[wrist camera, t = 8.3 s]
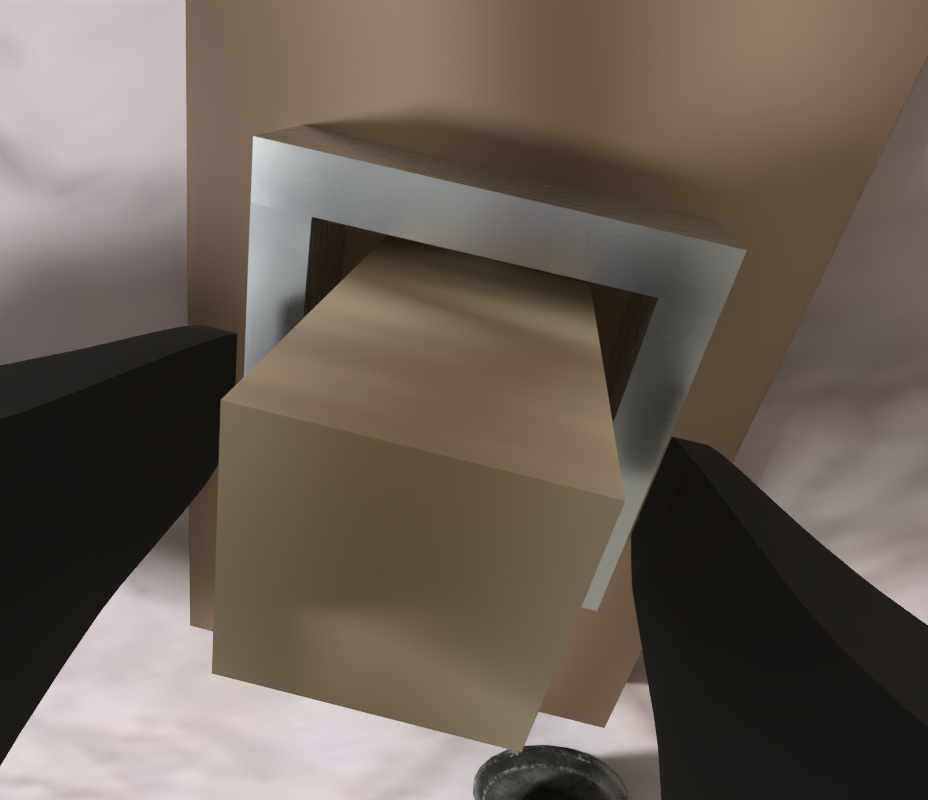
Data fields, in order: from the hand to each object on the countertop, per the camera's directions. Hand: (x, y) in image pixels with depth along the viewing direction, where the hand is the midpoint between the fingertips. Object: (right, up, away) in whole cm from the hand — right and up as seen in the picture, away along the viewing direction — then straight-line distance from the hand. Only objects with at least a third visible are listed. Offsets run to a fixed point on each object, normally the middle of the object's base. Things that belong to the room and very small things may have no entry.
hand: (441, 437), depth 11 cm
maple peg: (0, +2, +3) cm, 3 cm away
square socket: (0, +1, +3) cm, 3 cm away
